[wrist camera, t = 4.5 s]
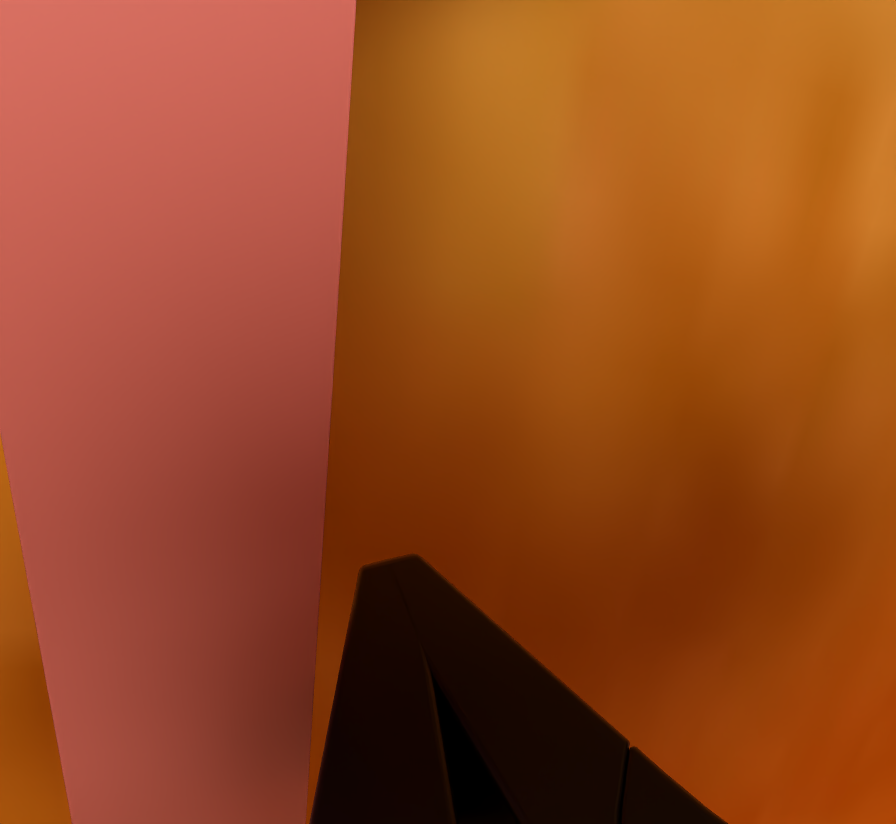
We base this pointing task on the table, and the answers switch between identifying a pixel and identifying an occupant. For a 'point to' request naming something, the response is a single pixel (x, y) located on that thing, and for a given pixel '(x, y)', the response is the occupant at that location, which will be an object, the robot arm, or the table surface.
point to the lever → (173, 385)
